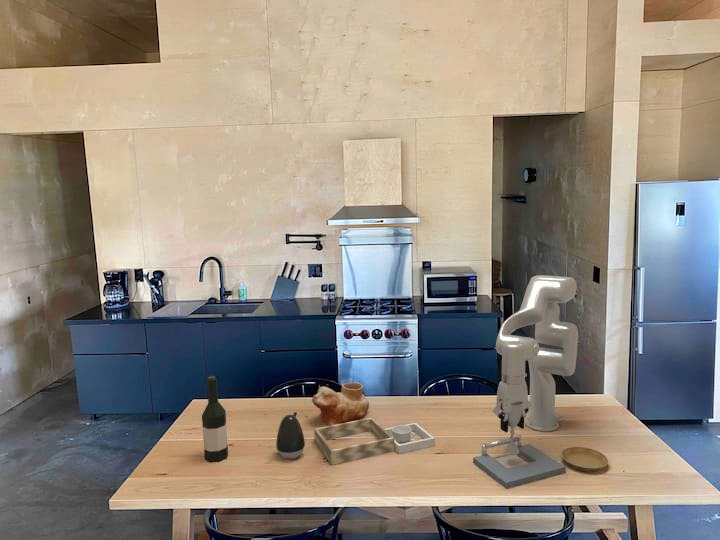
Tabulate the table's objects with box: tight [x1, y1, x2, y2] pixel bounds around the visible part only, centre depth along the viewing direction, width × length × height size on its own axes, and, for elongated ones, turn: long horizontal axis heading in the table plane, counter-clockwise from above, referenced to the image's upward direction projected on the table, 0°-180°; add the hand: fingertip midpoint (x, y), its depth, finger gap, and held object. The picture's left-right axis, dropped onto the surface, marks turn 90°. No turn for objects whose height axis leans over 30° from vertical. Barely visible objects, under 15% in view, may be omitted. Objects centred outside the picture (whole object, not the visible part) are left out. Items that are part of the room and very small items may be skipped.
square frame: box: [384, 422, 436, 455], centre depth 199 cm, size 15×15×3 cm
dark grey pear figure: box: [275, 411, 306, 460], centre depth 190 cm, size 10×10×15 cm
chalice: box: [503, 403, 523, 455], centre depth 180 cm, size 7×7×18 cm
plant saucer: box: [561, 446, 609, 473], centre depth 180 cm, size 15×15×3 cm
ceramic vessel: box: [311, 382, 370, 426], centre depth 221 cm, size 14×26×15 cm, turn 123°
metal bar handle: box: [481, 434, 523, 456], centre depth 186 cm, size 17×2×6 cm, turn 112°
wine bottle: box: [201, 375, 229, 464], centre depth 188 cm, size 8×8×30 cm
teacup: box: [392, 424, 416, 444], centre depth 200 cm, size 10×10×5 cm
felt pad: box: [494, 454, 528, 468], centre depth 182 cm, size 9×9×1 cm
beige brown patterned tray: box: [313, 417, 395, 466], centre depth 196 cm, size 24×20×5 cm
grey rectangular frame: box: [472, 443, 567, 490], centre depth 178 cm, size 24×18×2 cm
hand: (512, 428), depth 180 cm, fingers closed on chalice, 6 cm apart
